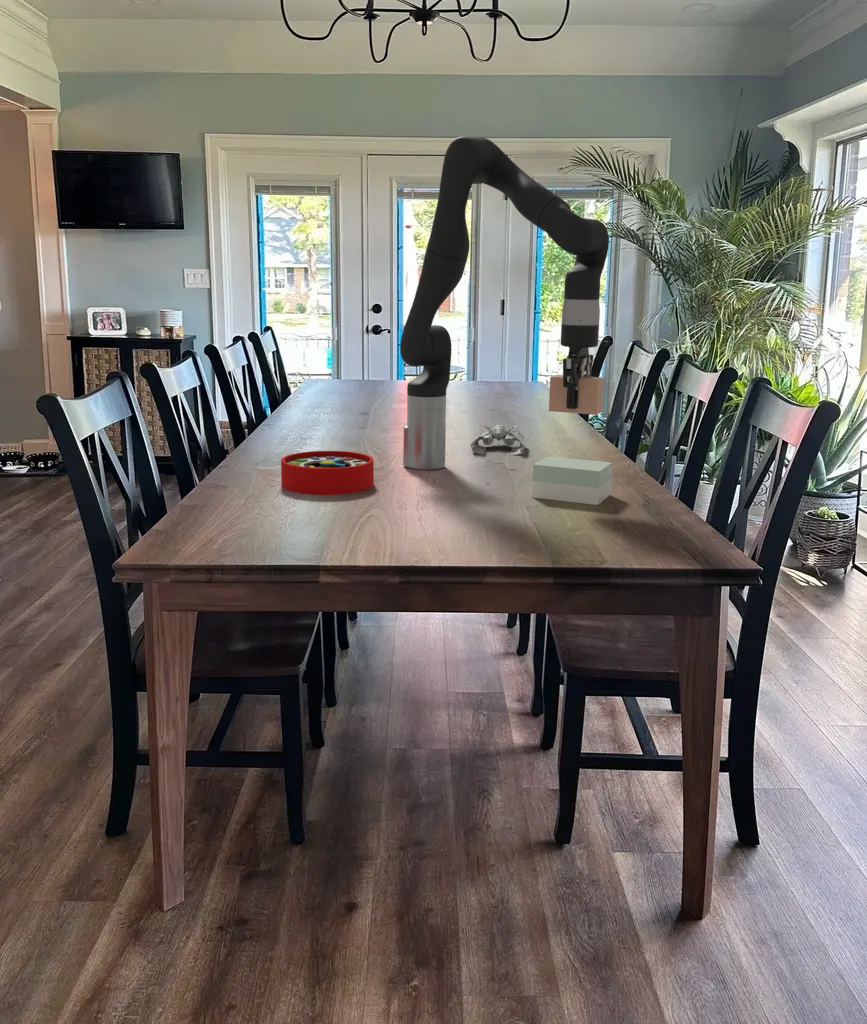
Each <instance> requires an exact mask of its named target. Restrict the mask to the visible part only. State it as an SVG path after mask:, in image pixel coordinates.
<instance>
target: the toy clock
mask: <svg viewBox="0 0 867 1024" xmlns="http://www.w3.org/2000/svg"><path fill="white" fill-rule="evenodd" d="M280 465H281V466H280V469H281V470H280V472H281V475H280V476H281V477H280V478H281V480H280V481H281V487H282V488H283V489H284V490H287V491H288V492H289V491H290V492H293V493H297V494H302V495H303V494H305V495H313V496H314V495H315V496H317V495H318V496H336V495H337V496H338V495H339V496H340V495H348V494H349V493H350V494H356V493H361V492H365V491H366V490H367V489H368V490H369V489H372V488H373V486H374V485H375V484H374V483H375V482H374V480H375V479H374V477H375V476H374V475H375V473H374V471H375V470H374V457H373V456H371V455H369V454H365V453H361V452H355V451H345V450H343V451H342V450H312V451H303V452H296V453H291V454H287V455H285V456H283V457H282V458H281V459H280ZM364 490H365V491H364ZM368 490H367V491H368ZM360 491H361V492H360ZM355 492H356V493H355Z"/></svg>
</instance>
